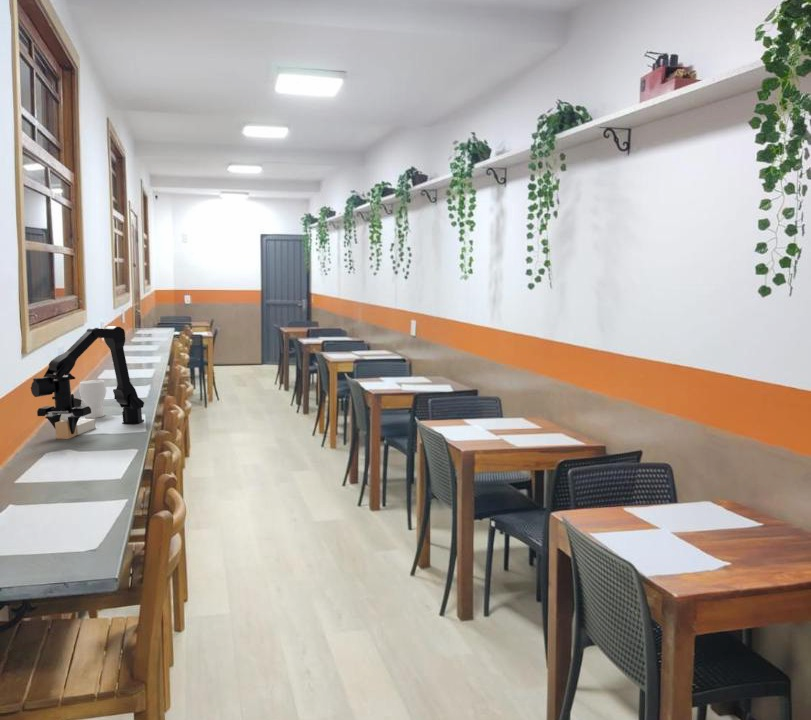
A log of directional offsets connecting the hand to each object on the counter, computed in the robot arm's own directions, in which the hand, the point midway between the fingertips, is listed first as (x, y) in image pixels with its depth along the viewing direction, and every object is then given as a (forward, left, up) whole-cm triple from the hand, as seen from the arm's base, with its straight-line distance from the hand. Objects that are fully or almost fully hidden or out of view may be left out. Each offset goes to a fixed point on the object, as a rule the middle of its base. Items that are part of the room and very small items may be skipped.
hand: (66, 433), depth 280 cm
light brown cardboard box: (0, 0, -1) cm, 1 cm away
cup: (+11, -37, -1) cm, 39 cm away
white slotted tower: (0, -9, -1) cm, 9 cm away
